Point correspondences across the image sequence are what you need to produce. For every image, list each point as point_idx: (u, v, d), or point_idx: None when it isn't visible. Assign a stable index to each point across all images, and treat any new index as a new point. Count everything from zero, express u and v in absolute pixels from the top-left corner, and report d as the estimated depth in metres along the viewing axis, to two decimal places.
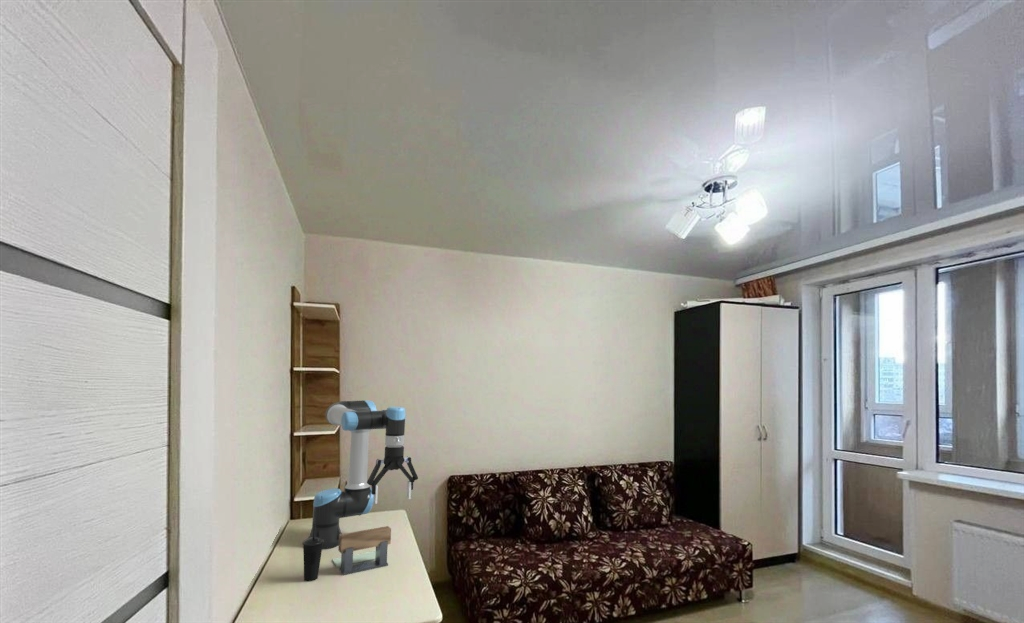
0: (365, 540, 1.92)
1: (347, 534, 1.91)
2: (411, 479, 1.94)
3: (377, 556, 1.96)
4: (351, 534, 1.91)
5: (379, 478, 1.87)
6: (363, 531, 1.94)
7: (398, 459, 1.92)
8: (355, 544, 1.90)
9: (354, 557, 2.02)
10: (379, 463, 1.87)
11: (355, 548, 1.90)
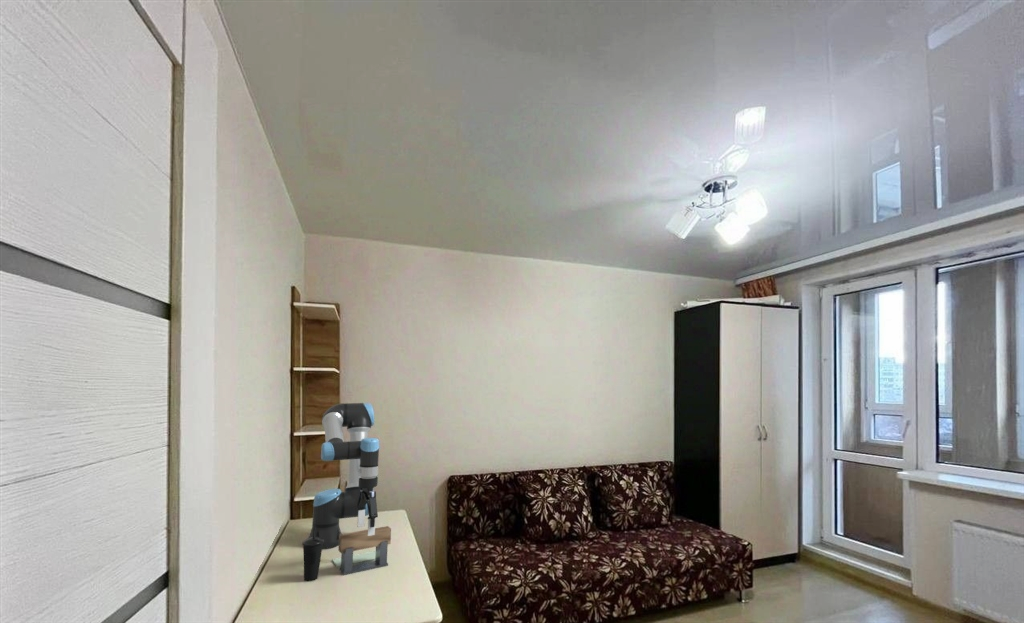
0: (365, 540, 1.92)
1: (347, 534, 1.91)
2: (369, 515, 1.89)
3: (377, 556, 1.96)
4: (351, 534, 1.91)
5: (359, 504, 2.00)
6: (363, 531, 1.94)
7: (366, 491, 1.95)
8: (355, 544, 1.90)
9: (354, 557, 2.02)
10: (360, 489, 2.01)
11: (355, 548, 1.90)
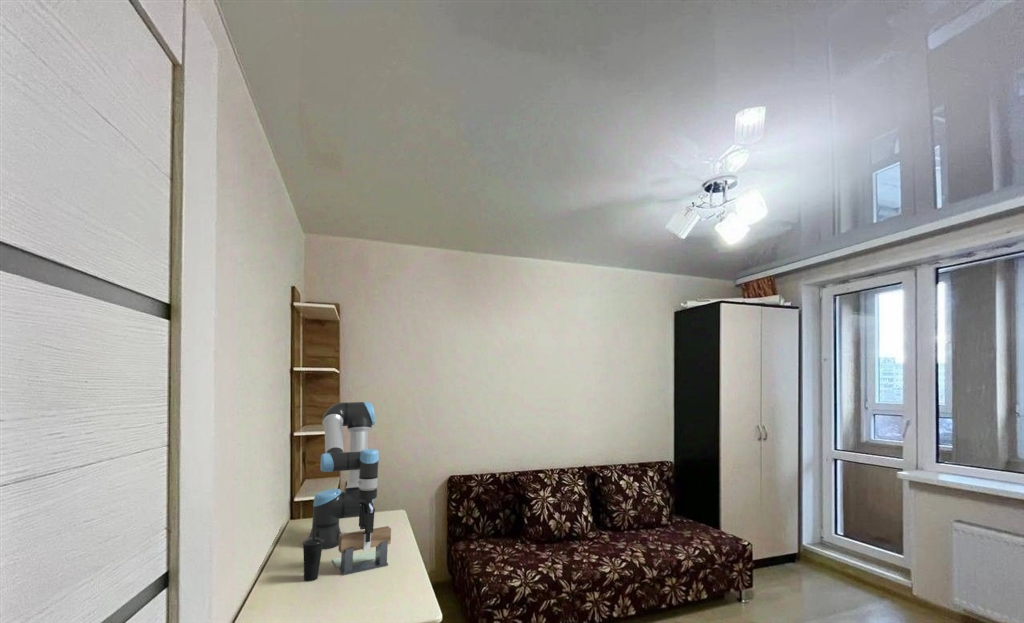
0: None
1: (347, 534, 1.91)
2: (365, 530, 1.91)
3: (377, 556, 1.96)
4: (351, 534, 1.91)
5: (361, 521, 1.97)
6: (363, 531, 1.94)
7: (366, 501, 1.94)
8: (355, 544, 1.90)
9: (354, 557, 2.02)
10: (359, 504, 2.00)
11: (355, 548, 1.90)
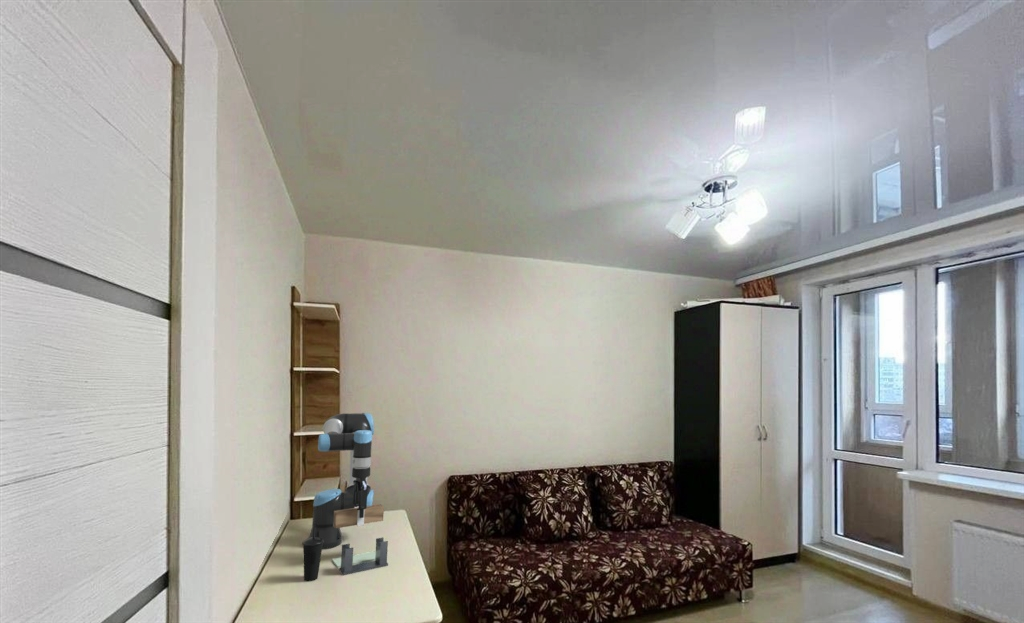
0: None
1: (341, 510, 1.99)
2: None
3: (377, 556, 1.96)
4: (345, 510, 2.00)
5: (355, 498, 2.05)
6: (357, 508, 2.03)
7: (359, 479, 2.03)
8: (349, 520, 1.99)
9: (354, 557, 2.02)
10: (353, 483, 2.09)
11: (349, 524, 1.99)
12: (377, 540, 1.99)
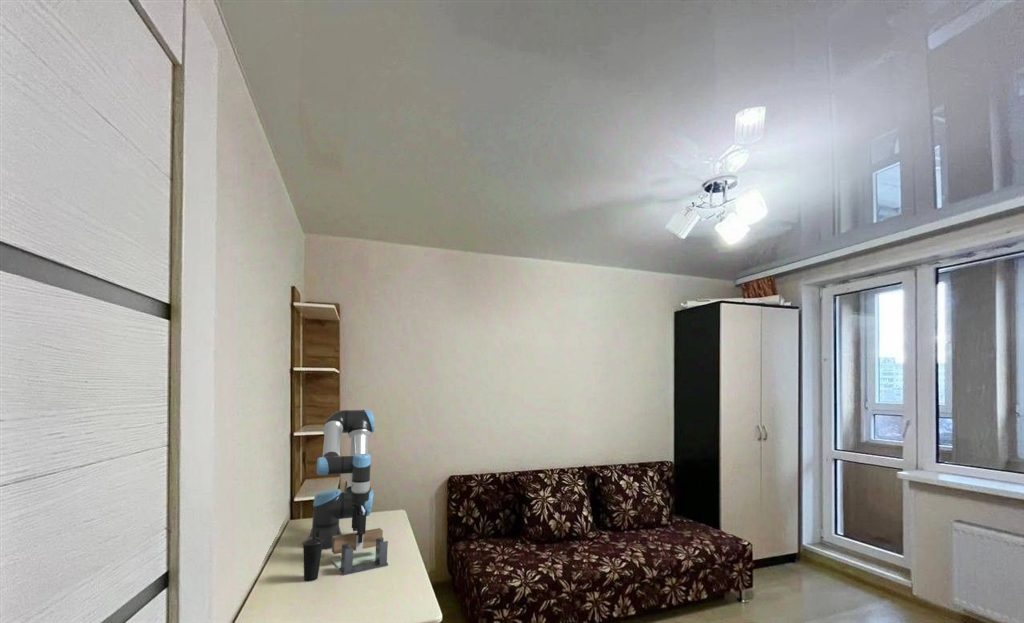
0: None
1: (340, 536, 1.98)
2: (357, 532, 1.99)
3: (377, 556, 1.96)
4: (344, 536, 1.98)
5: (353, 523, 2.04)
6: (356, 533, 2.02)
7: (358, 503, 2.02)
8: None
9: (354, 557, 2.02)
10: (352, 507, 2.07)
11: None
12: (377, 540, 1.99)
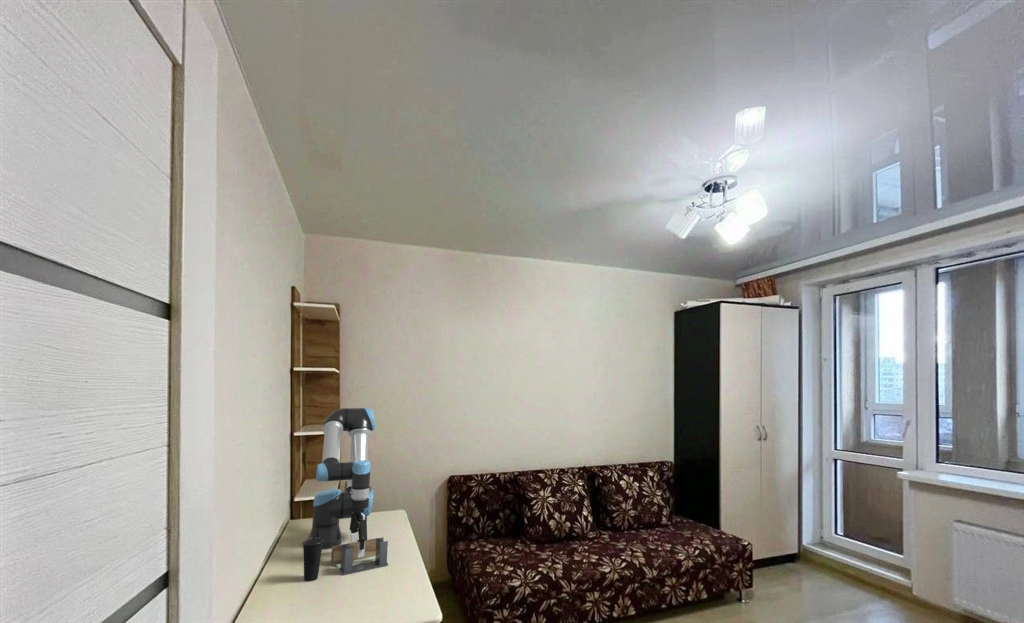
0: (356, 552, 1.99)
1: (339, 546, 1.98)
2: (359, 538, 1.97)
3: (377, 556, 1.96)
4: None
5: (352, 526, 2.06)
6: (355, 543, 2.02)
7: (357, 511, 2.02)
8: None
9: None
10: (352, 511, 2.08)
11: None
12: (377, 540, 1.99)
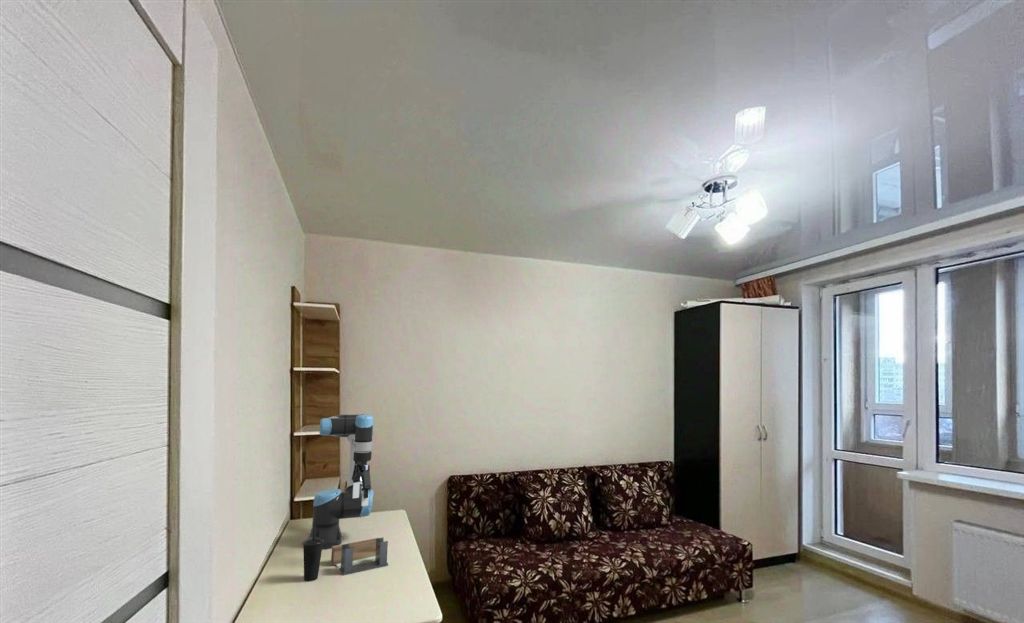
0: (356, 552, 1.99)
1: (339, 546, 1.98)
2: (363, 487, 2.00)
3: (377, 556, 1.96)
4: None
5: (354, 476, 2.11)
6: (355, 543, 2.02)
7: (360, 464, 2.05)
8: None
9: None
10: (355, 463, 2.12)
11: None
12: (377, 540, 1.99)
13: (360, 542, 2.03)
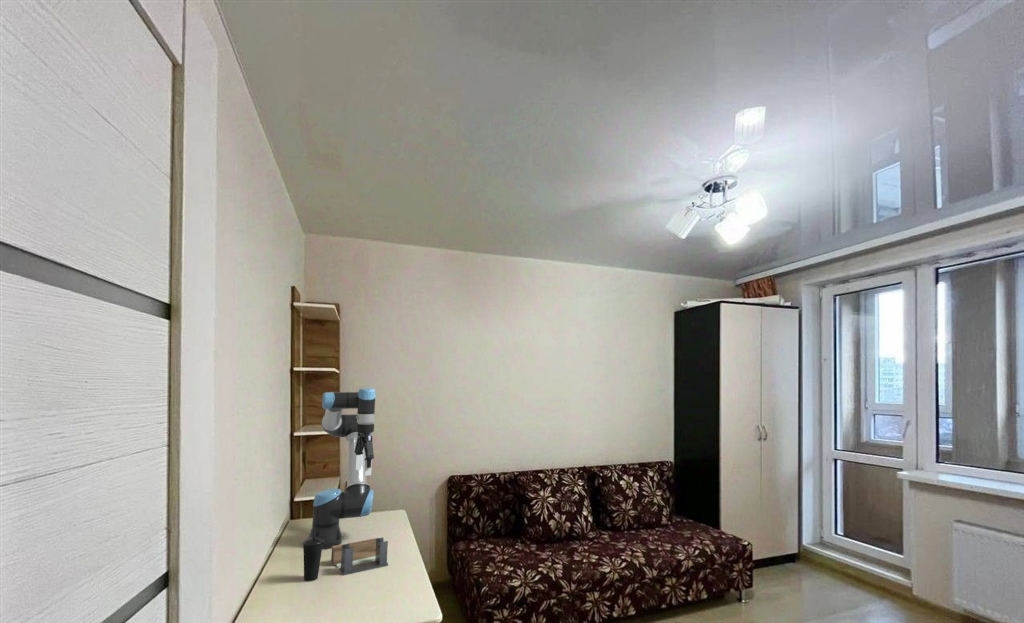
0: (356, 552, 1.99)
1: (339, 546, 1.98)
2: (366, 457, 2.04)
3: (377, 556, 1.96)
4: None
5: (357, 449, 2.15)
6: (355, 543, 2.02)
7: (363, 436, 2.10)
8: None
9: None
10: (357, 436, 2.16)
11: None
12: (377, 540, 1.99)
13: (360, 542, 2.03)
